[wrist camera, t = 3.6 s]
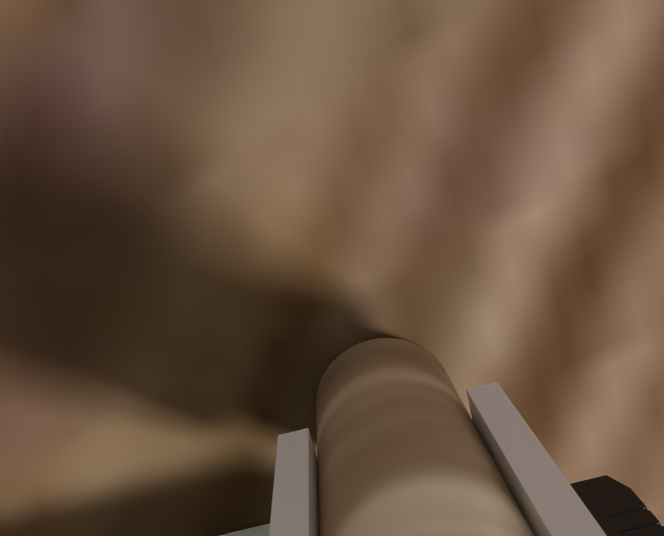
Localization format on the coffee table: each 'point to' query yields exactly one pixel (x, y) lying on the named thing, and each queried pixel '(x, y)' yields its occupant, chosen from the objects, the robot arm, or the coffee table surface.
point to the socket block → (251, 531)
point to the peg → (404, 451)
